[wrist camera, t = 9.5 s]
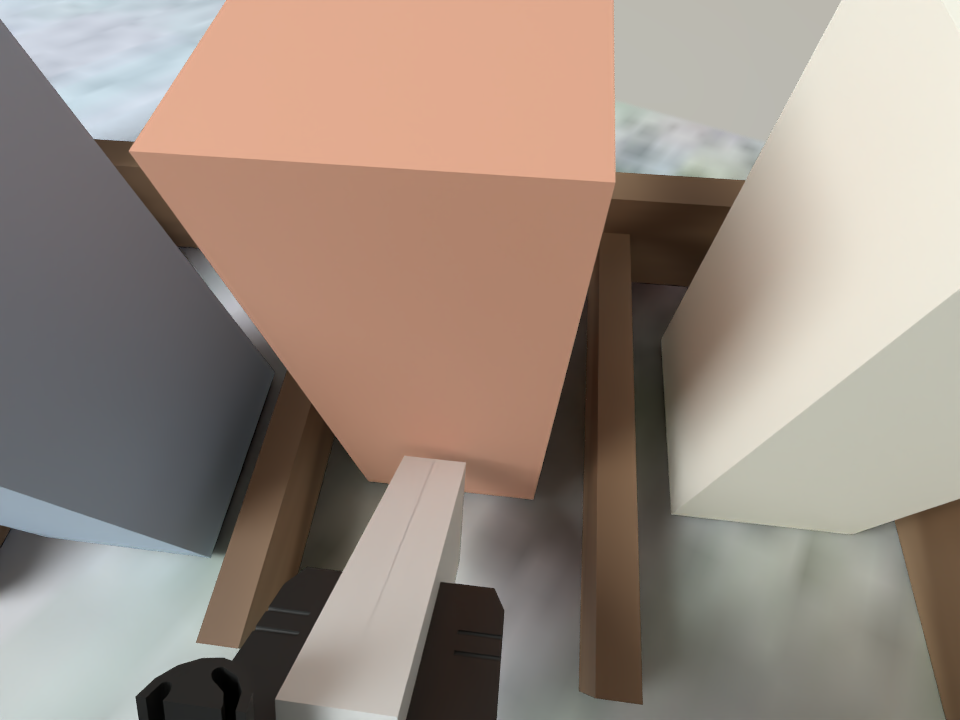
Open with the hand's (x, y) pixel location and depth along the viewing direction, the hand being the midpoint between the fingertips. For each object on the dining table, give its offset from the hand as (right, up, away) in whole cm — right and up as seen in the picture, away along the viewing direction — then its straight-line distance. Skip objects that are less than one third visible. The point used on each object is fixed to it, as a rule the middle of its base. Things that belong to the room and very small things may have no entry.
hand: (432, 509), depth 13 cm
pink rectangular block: (+1, +2, +4) cm, 5 cm away
